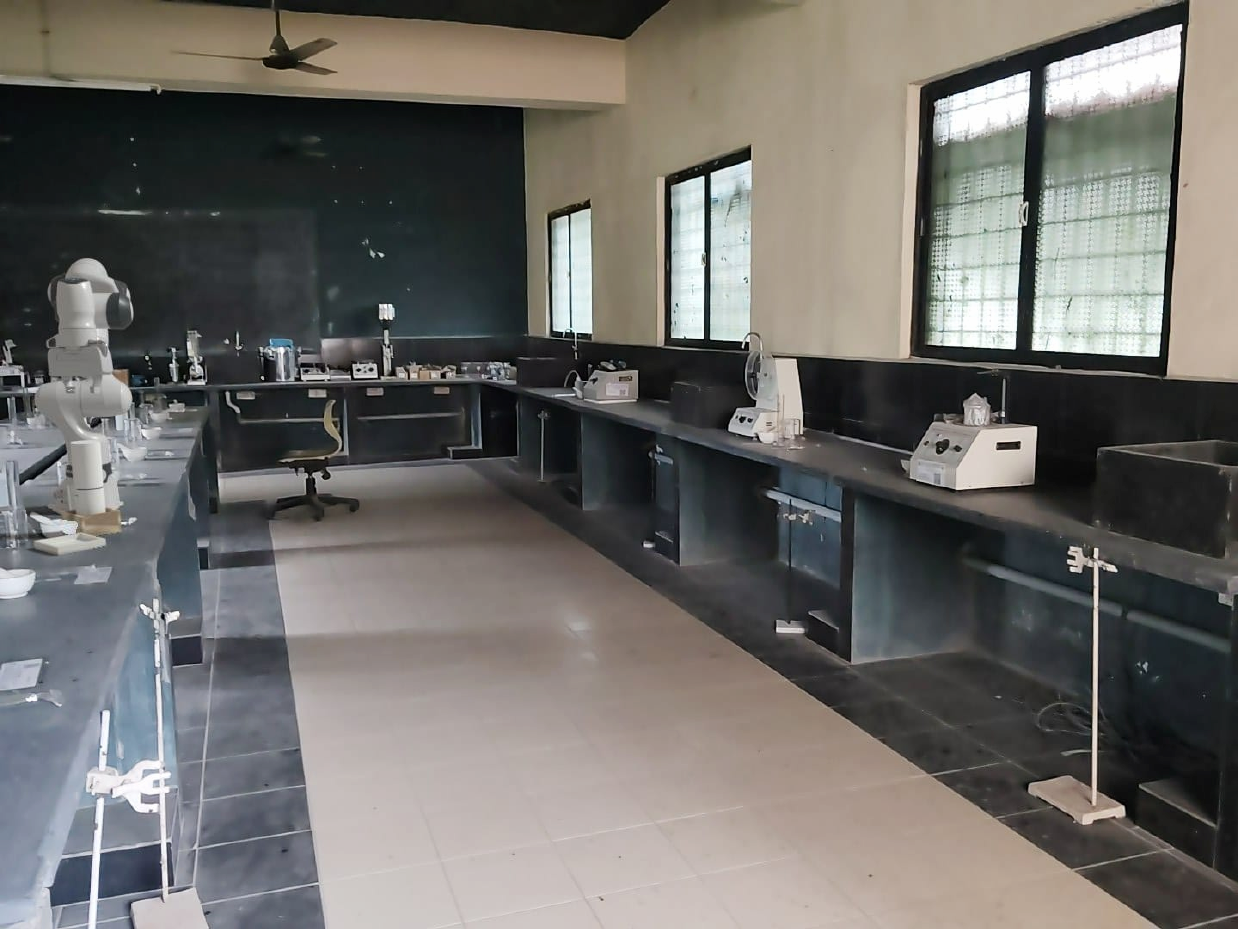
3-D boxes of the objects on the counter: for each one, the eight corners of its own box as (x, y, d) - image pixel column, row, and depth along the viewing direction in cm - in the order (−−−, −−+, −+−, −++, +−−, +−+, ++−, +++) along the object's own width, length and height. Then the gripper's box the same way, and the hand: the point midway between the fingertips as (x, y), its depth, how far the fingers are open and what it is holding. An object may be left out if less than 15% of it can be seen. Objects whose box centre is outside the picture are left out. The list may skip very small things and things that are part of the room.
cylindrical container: (94, 536, 273) (87, 444, 269) (71, 535, 274) (64, 443, 270) (112, 530, 279) (106, 440, 276) (90, 529, 281) (83, 439, 277)
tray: (34, 548, 259) (34, 541, 258) (81, 539, 268) (81, 532, 268) (58, 555, 252) (57, 547, 252) (106, 546, 262) (105, 538, 261)
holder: (62, 533, 275) (60, 512, 274) (101, 526, 284) (99, 505, 283) (83, 539, 269) (81, 517, 268) (121, 531, 278) (120, 510, 277)
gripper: (116, 339, 265) (120, 392, 266) (63, 341, 273) (67, 393, 275) (95, 339, 259) (99, 393, 260) (41, 341, 267) (46, 394, 269)
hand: (82, 393), depth 267 cm, fingers open, 8 cm apart
